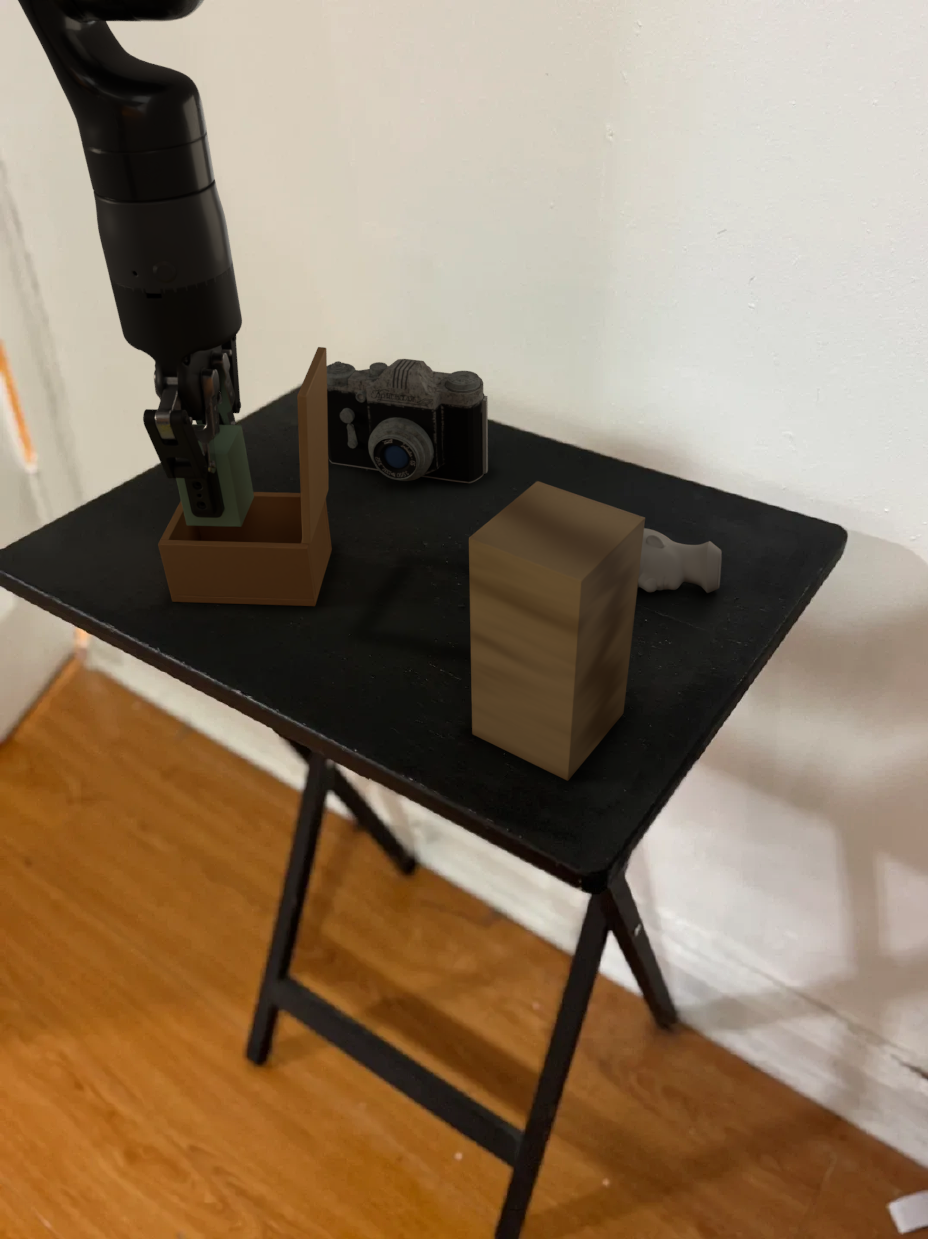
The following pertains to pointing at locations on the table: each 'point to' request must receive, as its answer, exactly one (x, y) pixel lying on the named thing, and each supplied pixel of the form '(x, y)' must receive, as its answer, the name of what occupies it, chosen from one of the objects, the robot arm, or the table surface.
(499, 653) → the post
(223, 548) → the case
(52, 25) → the robot arm
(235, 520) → the block
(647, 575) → the pale two-lobed sculpture
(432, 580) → the table surface
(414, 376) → the camera
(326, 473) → the case lid
